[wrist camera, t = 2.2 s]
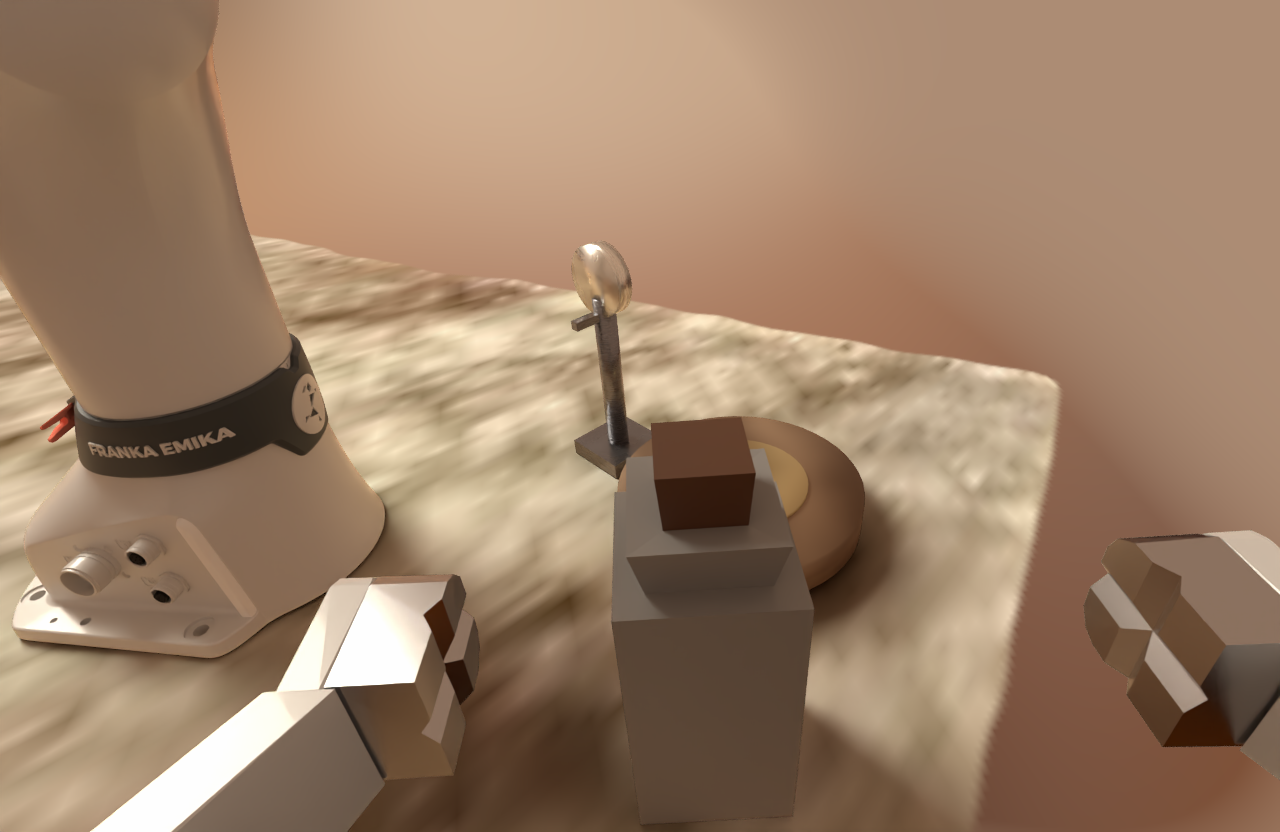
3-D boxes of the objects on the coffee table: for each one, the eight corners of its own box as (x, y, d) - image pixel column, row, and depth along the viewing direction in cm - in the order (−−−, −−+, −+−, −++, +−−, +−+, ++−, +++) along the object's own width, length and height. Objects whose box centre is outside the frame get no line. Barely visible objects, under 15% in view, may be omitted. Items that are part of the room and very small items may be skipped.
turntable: (622, 612, 39) (618, 580, 37) (619, 450, 52) (615, 422, 51) (897, 590, 38) (904, 557, 37) (823, 434, 52) (826, 405, 50)
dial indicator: (614, 479, 50) (588, 263, 41) (574, 453, 53) (542, 247, 44) (663, 449, 53) (650, 240, 44) (622, 426, 56) (602, 227, 47)
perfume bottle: (638, 689, 35) (603, 401, 25) (766, 681, 35) (780, 388, 25) (640, 824, 30) (597, 520, 20) (792, 816, 29) (825, 505, 20)
